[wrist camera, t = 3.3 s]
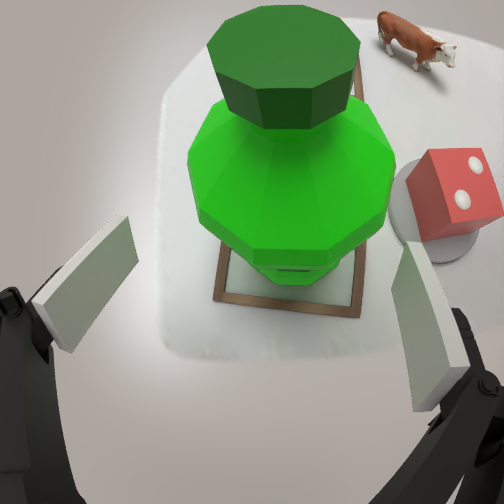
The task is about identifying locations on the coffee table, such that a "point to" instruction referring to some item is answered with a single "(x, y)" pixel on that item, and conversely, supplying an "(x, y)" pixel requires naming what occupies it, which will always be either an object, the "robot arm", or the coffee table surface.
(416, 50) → the bull figurine
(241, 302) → the walnut frame
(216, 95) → the coffee table surface
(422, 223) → the red die stand
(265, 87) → the plastic bottle
